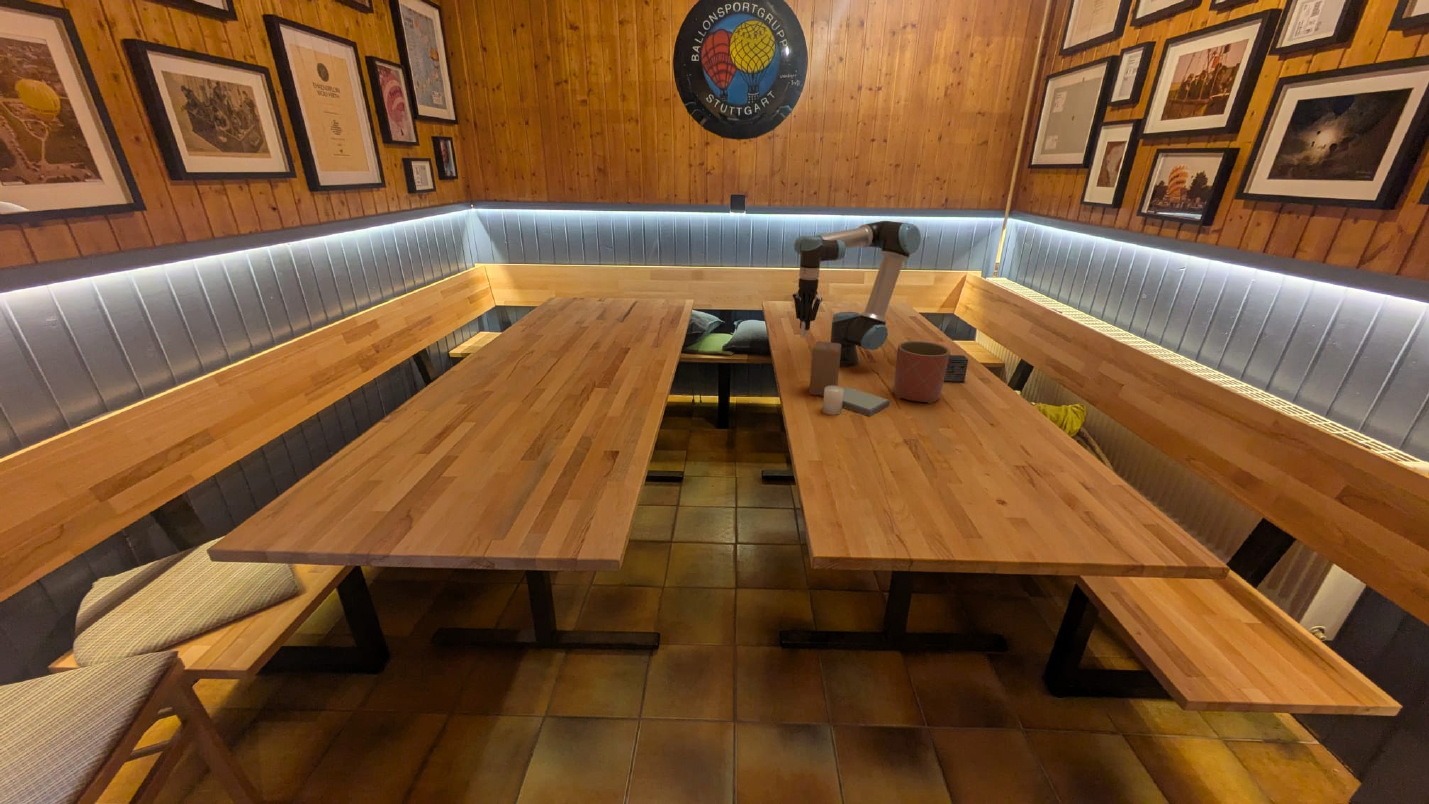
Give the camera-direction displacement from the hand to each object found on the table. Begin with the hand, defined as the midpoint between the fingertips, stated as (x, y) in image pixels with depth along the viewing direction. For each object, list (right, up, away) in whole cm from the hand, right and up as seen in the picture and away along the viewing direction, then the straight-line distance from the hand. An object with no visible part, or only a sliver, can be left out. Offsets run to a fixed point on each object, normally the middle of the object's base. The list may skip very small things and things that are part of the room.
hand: (804, 337), depth 223 cm
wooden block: (+8, -22, +2) cm, 24 cm away
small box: (+65, -17, +15) cm, 69 cm away
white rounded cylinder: (+8, -30, -15) cm, 34 cm away
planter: (+45, -24, -1) cm, 51 cm away
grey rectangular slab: (+19, -27, -9) cm, 34 cm away
